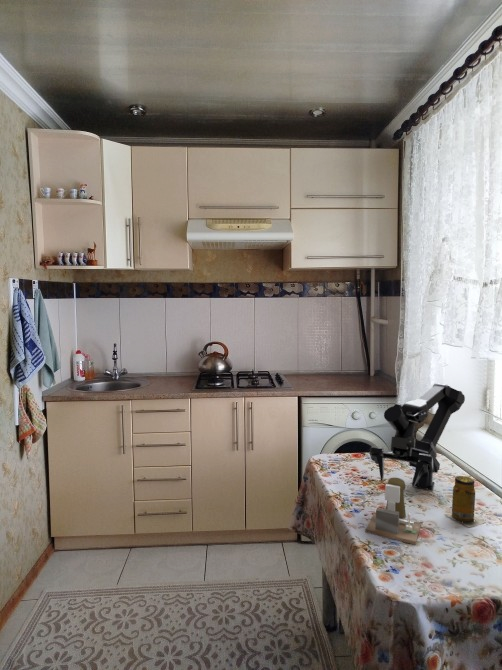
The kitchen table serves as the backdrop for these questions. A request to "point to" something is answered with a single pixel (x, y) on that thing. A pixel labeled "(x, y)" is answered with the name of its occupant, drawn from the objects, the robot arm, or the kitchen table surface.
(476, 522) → the condiment
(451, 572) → the kitchen table surface
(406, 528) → the pointer
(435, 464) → the robot arm
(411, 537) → the board
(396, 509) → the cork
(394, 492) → the block
